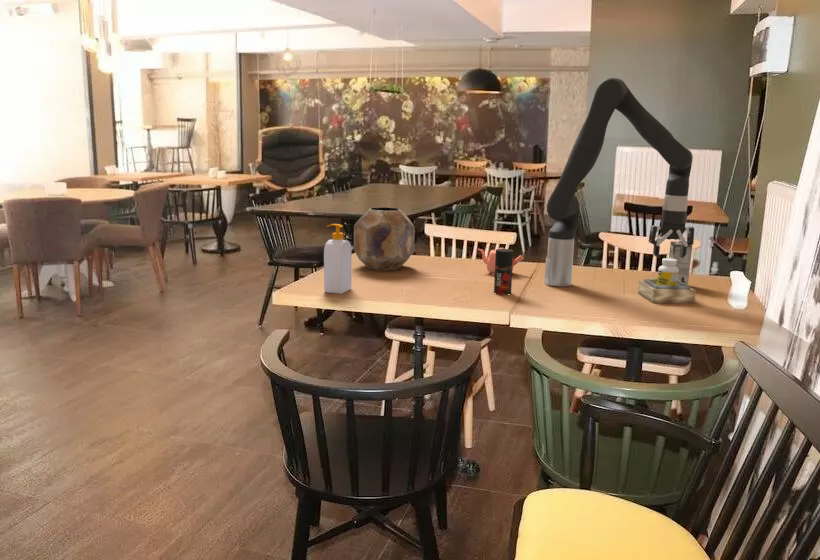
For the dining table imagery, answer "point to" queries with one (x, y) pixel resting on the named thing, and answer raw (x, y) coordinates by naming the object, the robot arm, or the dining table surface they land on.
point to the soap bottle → (337, 263)
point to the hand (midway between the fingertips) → (669, 256)
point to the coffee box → (681, 260)
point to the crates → (666, 292)
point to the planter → (384, 238)
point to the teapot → (491, 260)
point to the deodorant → (503, 271)
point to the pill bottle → (668, 273)
